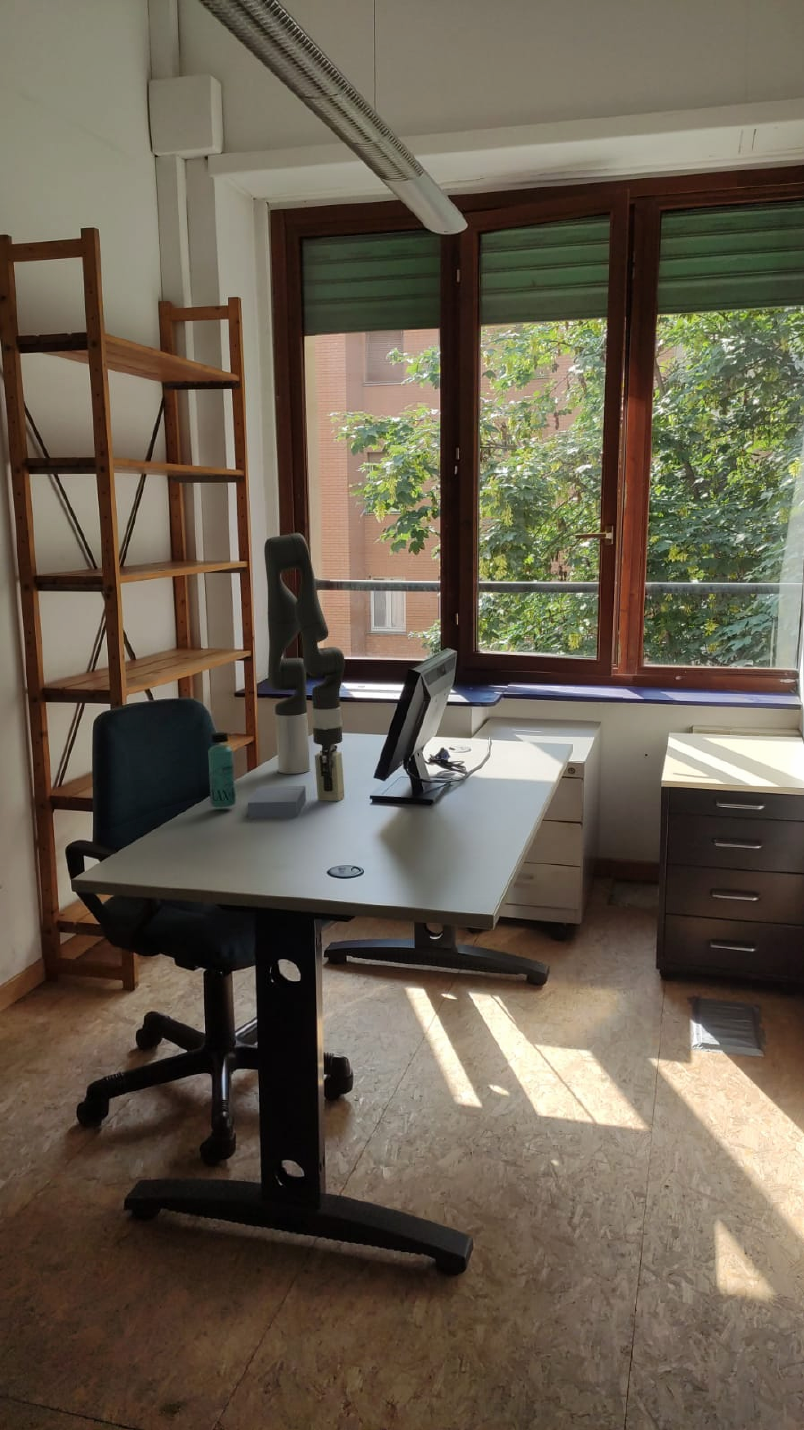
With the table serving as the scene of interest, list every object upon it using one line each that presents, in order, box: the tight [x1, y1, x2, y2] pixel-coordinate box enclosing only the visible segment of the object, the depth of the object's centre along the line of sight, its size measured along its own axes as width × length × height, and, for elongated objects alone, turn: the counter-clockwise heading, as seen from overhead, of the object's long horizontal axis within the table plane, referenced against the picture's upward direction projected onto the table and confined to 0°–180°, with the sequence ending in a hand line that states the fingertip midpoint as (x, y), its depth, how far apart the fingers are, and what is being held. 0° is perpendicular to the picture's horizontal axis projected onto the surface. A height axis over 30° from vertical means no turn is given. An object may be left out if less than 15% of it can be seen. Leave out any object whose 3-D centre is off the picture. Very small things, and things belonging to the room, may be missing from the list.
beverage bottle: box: [207, 731, 237, 808], centre depth 268 cm, size 6×7×20 cm
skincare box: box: [314, 751, 345, 802], centre depth 276 cm, size 6×4×12 cm
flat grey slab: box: [247, 785, 307, 820], centre depth 268 cm, size 16×12×4 cm
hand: (330, 788), depth 276 cm, fingers closed on skincare box, 5 cm apart
